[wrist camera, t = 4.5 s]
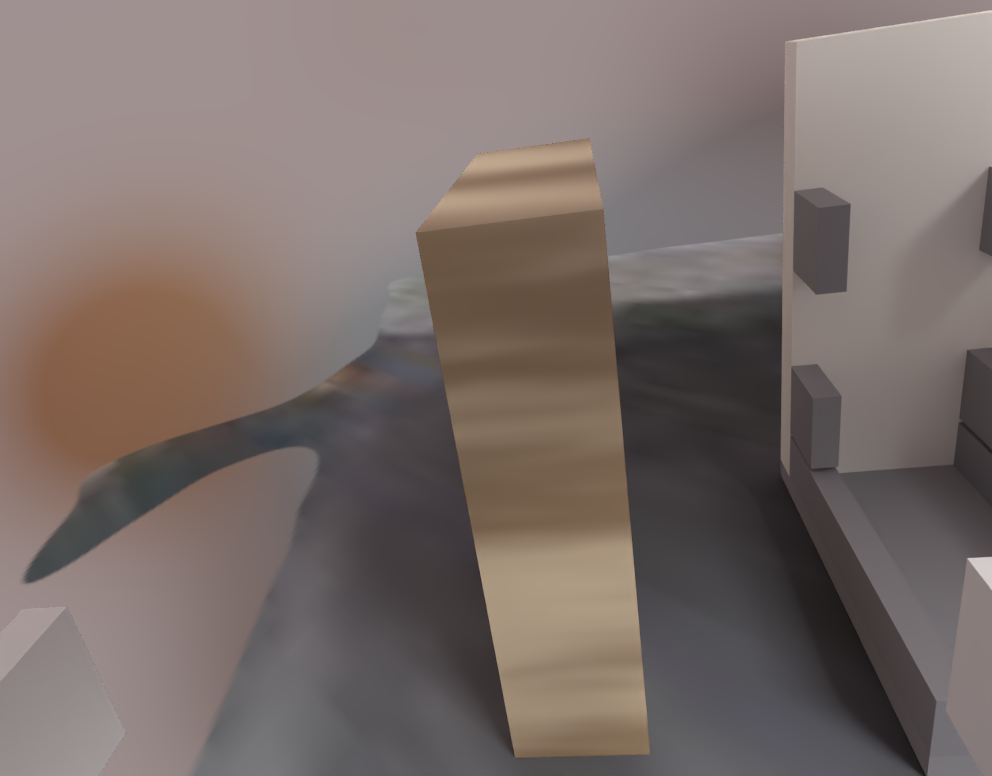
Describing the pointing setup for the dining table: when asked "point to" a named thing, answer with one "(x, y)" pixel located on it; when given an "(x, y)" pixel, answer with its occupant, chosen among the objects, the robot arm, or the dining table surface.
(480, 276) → the tan patterned box
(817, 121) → the cabinet
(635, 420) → the dining table surface
